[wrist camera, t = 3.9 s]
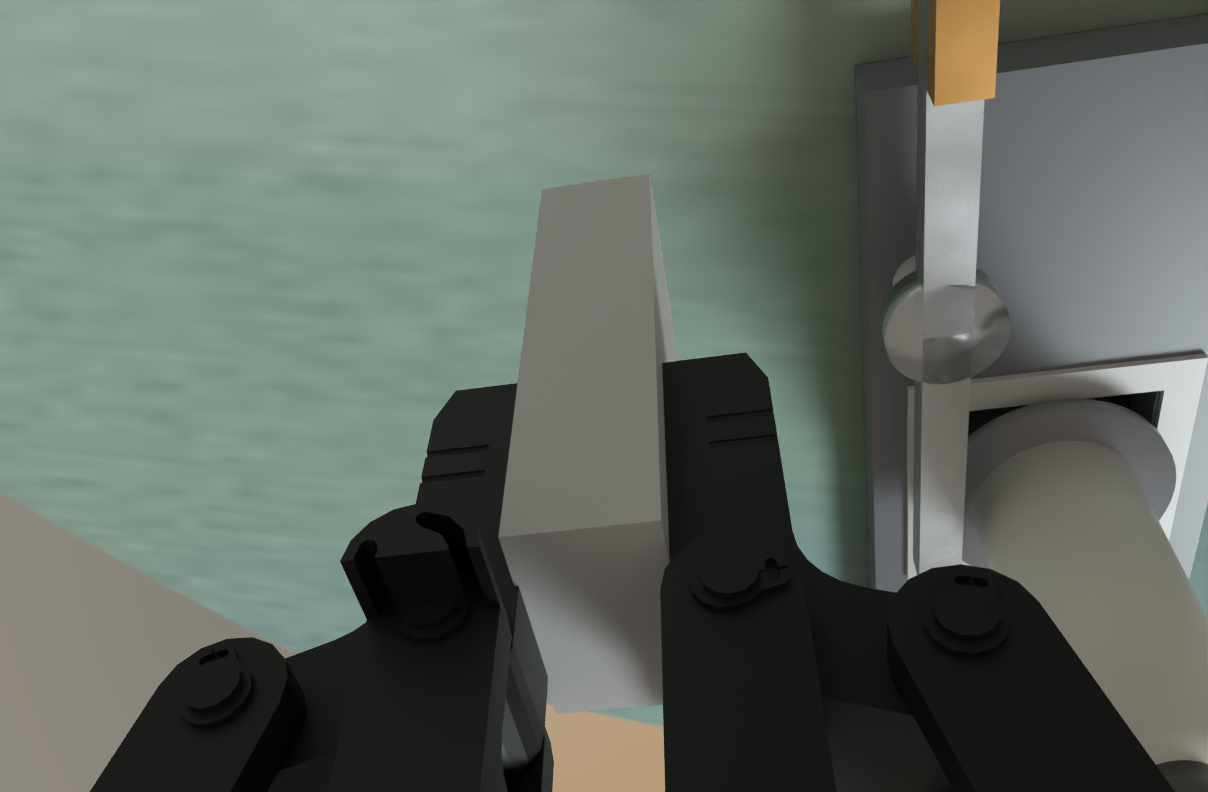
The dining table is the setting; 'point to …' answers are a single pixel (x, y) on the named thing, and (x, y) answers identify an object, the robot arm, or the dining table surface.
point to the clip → (946, 266)
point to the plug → (1097, 559)
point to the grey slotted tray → (1056, 250)
